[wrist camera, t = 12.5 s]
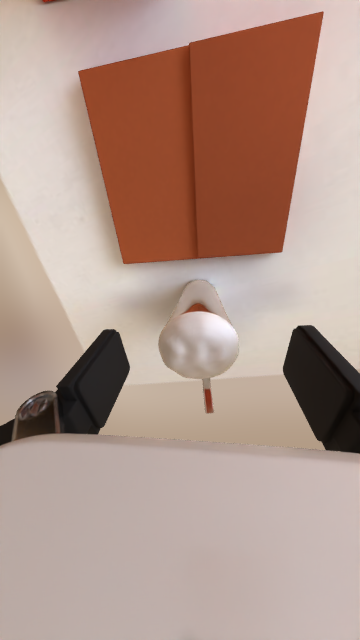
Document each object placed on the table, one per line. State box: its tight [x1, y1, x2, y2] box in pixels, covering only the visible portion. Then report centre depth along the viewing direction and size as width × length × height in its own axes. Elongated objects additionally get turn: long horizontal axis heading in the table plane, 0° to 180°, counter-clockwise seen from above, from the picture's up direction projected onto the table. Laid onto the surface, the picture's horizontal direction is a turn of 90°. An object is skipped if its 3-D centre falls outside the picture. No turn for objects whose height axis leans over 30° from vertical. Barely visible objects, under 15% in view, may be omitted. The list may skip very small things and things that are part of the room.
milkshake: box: [158, 280, 239, 413], centre depth 13 cm, size 4×5×10 cm
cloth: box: [78, 12, 324, 264], centre depth 12 cm, size 11×13×1 cm
